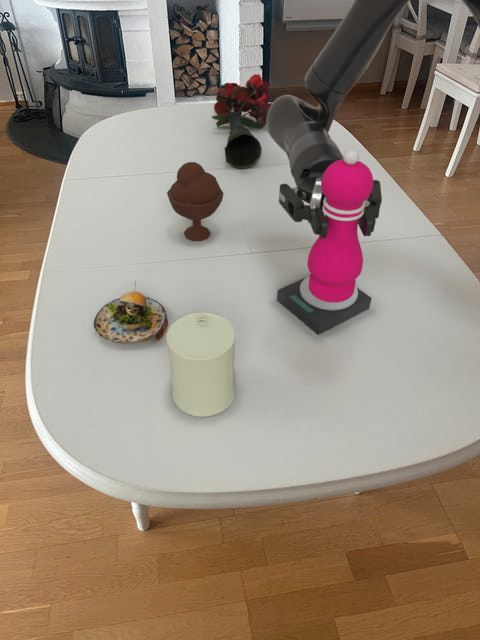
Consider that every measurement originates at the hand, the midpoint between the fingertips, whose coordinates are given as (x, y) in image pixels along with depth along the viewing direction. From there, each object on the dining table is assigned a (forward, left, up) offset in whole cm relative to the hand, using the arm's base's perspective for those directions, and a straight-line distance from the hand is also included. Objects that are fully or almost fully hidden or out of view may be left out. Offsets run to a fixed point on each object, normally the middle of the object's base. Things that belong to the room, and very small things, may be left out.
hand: (346, 230), depth 62 cm
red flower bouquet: (-41, -77, -25) cm, 91 cm away
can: (+17, -7, -25) cm, 31 cm away
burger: (+19, -26, -25) cm, 41 cm away
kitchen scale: (-11, -12, -25) cm, 30 cm away
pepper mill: (-1, -2, -11) cm, 12 cm away
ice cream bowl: (-5, -44, -25) cm, 51 cm away
